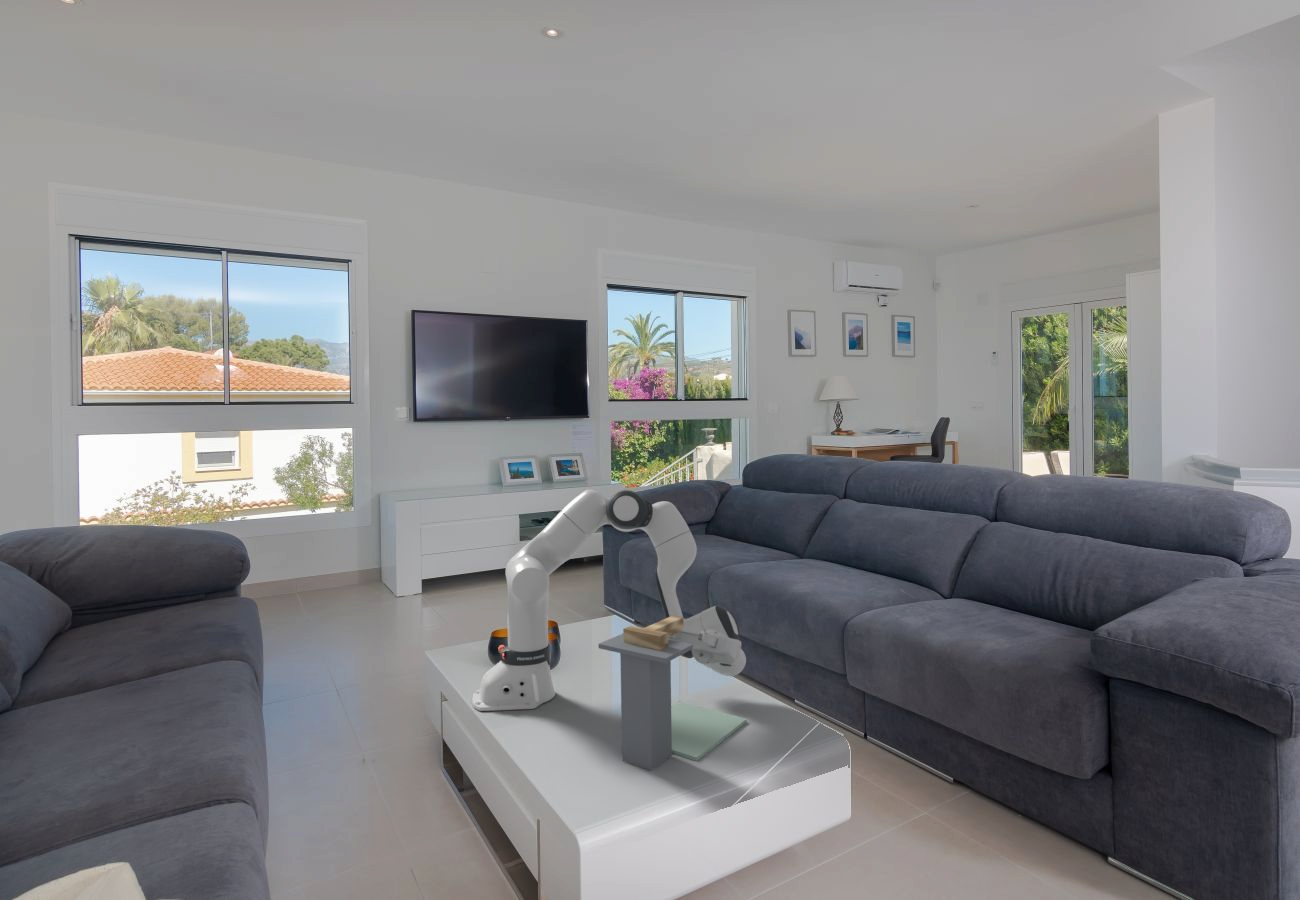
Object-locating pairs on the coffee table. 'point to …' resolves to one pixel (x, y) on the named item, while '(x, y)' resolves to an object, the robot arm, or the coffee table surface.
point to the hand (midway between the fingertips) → (684, 633)
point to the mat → (699, 729)
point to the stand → (646, 700)
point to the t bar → (654, 633)
